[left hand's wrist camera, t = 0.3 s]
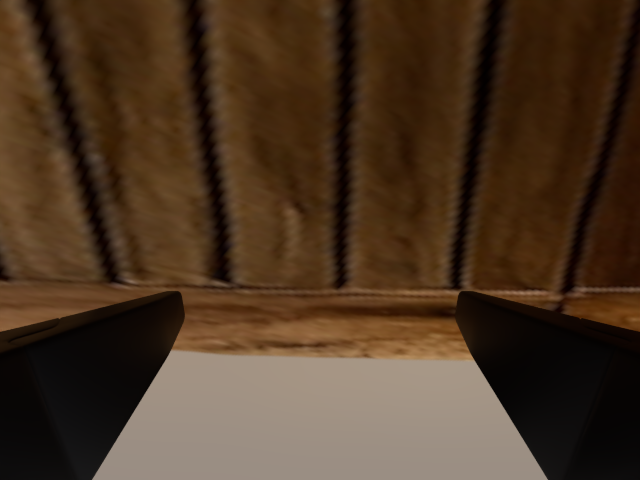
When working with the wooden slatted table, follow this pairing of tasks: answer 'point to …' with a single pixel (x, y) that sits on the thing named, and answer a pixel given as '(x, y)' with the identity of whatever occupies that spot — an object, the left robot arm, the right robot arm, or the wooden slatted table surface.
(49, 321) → the left robot arm
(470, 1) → the wooden slatted table surface
